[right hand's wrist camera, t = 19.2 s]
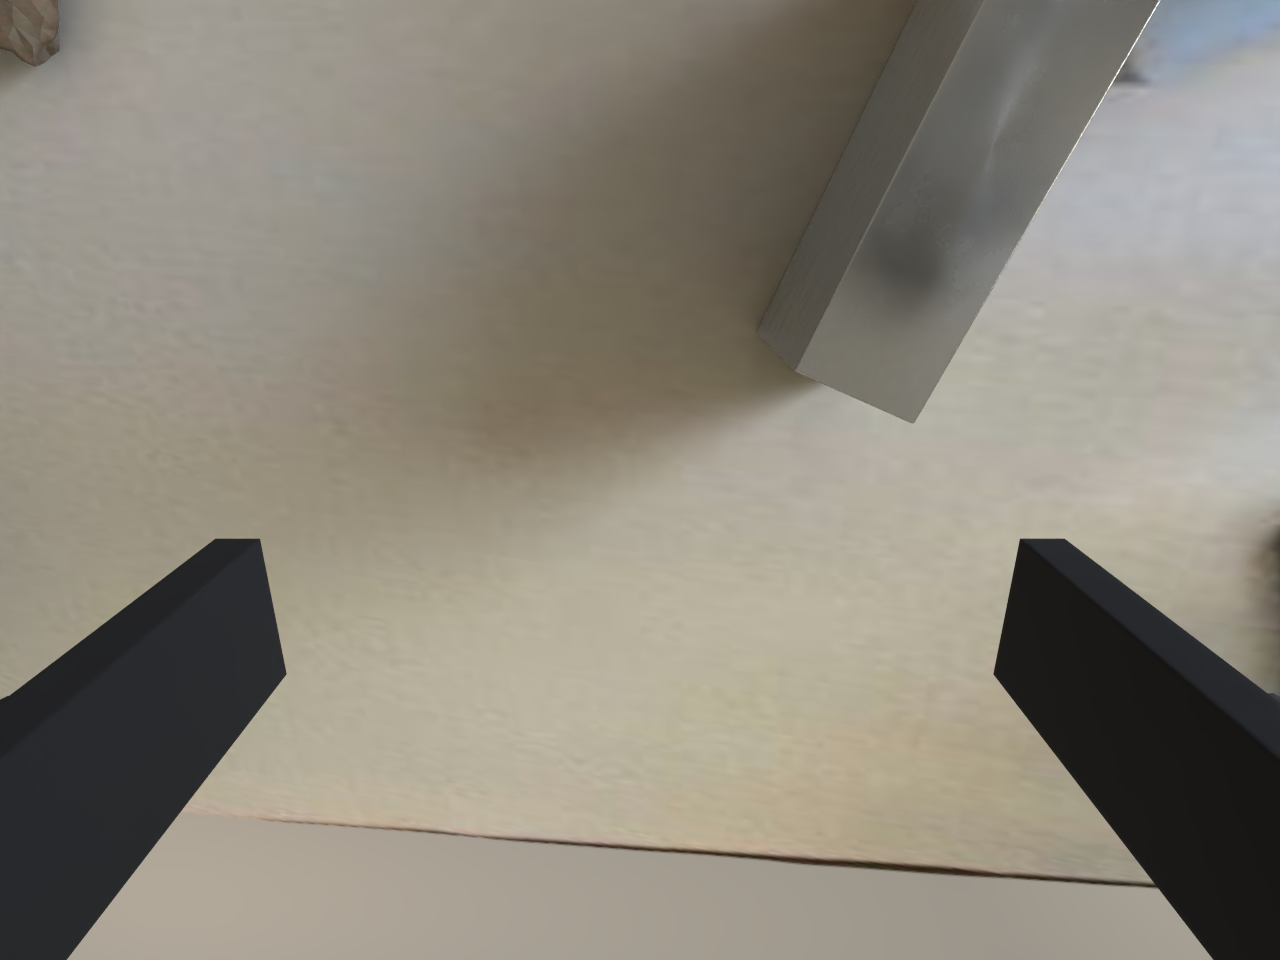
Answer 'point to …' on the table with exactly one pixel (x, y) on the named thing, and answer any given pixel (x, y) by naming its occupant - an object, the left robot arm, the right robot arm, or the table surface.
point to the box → (942, 187)
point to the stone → (30, 29)
